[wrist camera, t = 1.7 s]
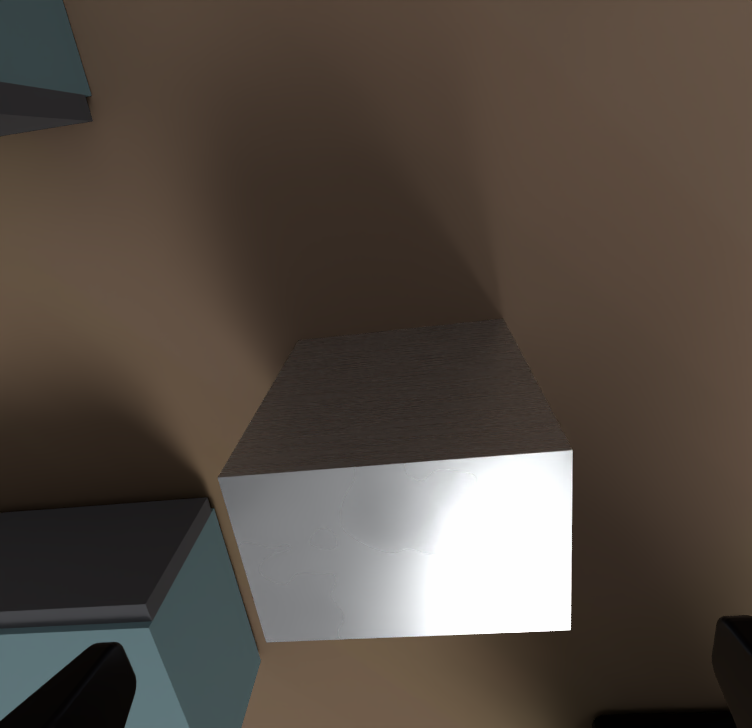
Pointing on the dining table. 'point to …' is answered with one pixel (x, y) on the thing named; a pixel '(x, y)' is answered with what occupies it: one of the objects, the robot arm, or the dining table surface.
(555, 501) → the steel block
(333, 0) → the dining table surface
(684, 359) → the dining table surface
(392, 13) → the dining table surface
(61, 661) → the block
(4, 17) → the vise body
